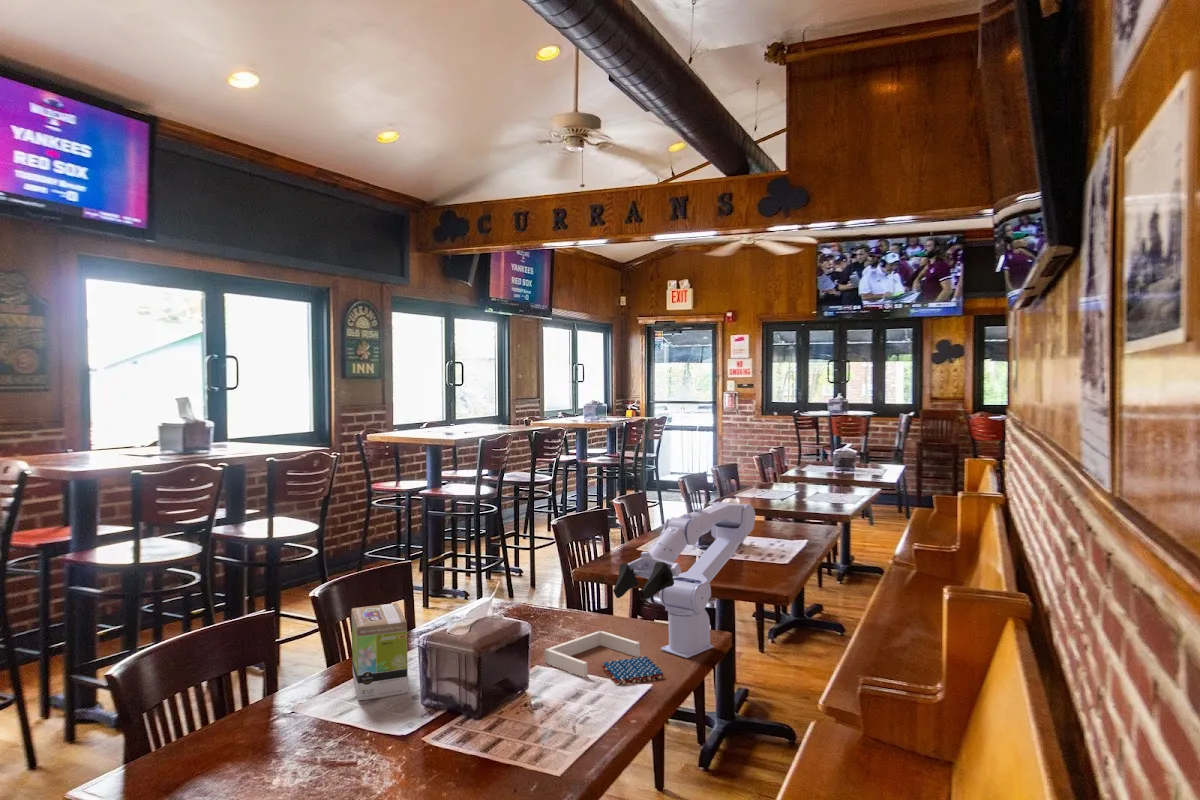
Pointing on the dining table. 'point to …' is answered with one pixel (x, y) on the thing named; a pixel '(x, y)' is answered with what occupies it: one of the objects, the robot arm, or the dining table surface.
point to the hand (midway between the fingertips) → (630, 594)
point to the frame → (563, 652)
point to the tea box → (379, 651)
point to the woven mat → (632, 670)
